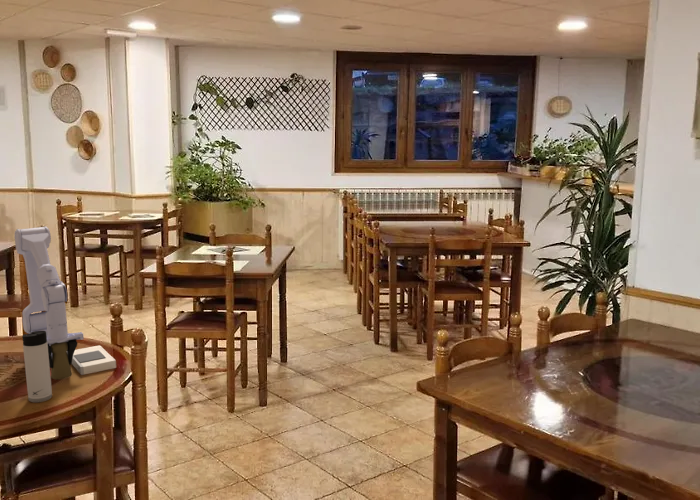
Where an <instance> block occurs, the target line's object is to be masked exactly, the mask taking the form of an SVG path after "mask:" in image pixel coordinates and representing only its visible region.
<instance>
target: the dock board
mask: <svg viewBox="0 0 700 500" xmlns="http://www.w3.org/2000/svg"><path fill="white" fill-rule="evenodd" d="M98 350H99V351H100V352H101V353H102V354H103V355H104V356H105V357H106V358H104V359H99V360H93V361H88V362H83V363H80V362H79V361H78V360H77V359H76V358H75V357H74V355H77V354H82V353H88V352H93V351H98ZM71 365H72V366H73V367H74V369H75V370H76V371H77V372H78V373H79V374H80V375H81V376H83V375H88V374H93V373H97V372H102V371H107V370H112V369H116V368H117V361H116V359H115V358H114V357H113V356H111V354H110V353H108V351H106V349H104V348H103V346H101V345H95V346H94V345H93V346H89V347H83V348H78V349H75V351H74V354H73V358H72V364H71Z"/></svg>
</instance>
